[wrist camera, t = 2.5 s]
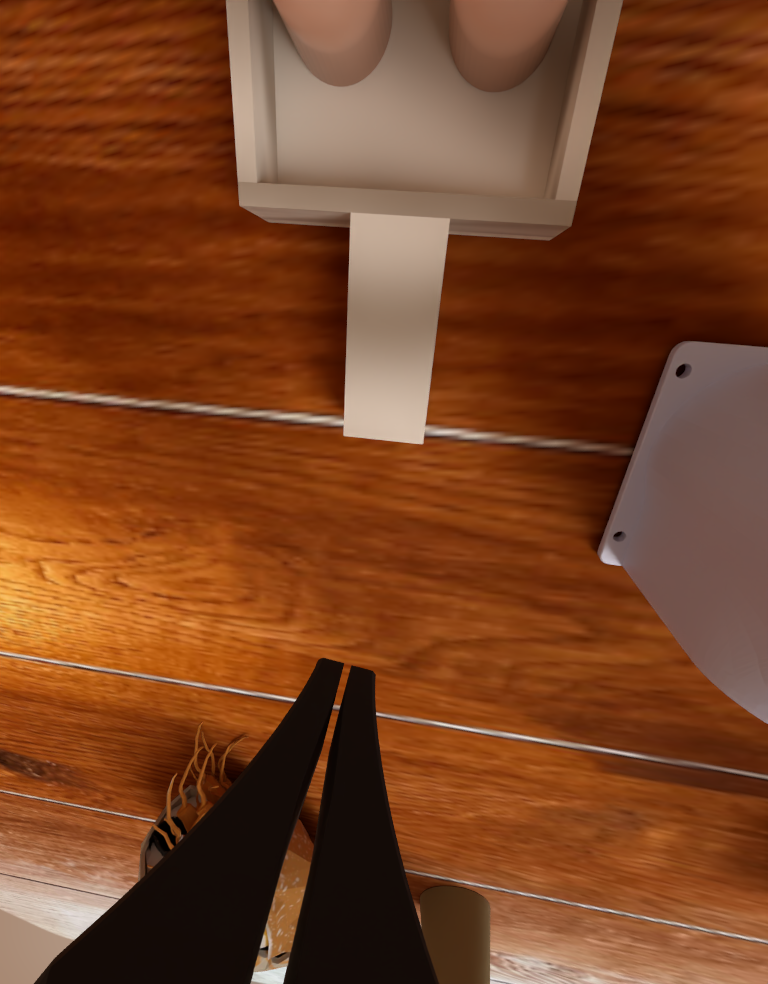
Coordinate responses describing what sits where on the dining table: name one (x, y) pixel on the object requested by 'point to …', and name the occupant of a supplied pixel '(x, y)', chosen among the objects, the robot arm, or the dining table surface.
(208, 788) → the nautilus
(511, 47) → the tan rounded capsule
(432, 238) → the drawer with block handle
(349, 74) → the tan rounded block
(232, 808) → the robot arm
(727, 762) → the dining table surface
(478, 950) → the pepper mill
